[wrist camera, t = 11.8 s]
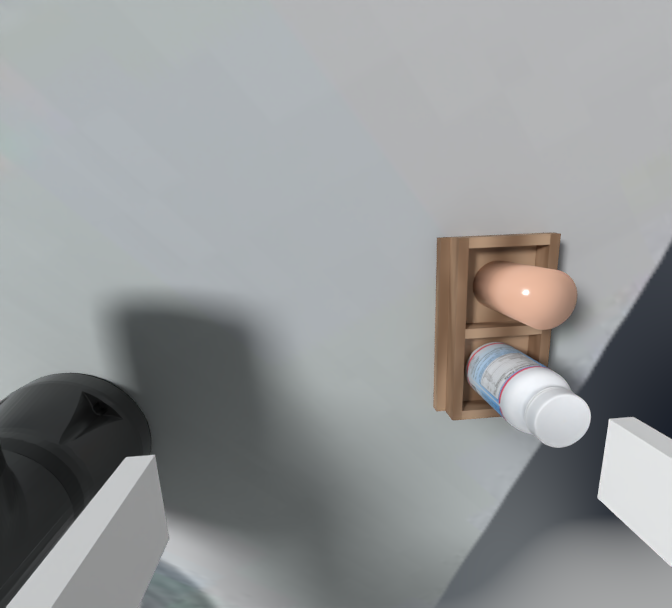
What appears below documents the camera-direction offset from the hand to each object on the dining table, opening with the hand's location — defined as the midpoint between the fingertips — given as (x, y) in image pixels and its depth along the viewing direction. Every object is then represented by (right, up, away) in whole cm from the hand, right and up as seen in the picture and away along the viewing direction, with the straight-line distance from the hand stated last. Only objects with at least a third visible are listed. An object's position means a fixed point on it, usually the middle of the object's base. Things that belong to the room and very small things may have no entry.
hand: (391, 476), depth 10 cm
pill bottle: (+15, -2, +28) cm, 32 cm away
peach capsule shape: (+15, +7, +26) cm, 31 cm away
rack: (+15, +3, +28) cm, 32 cm away
